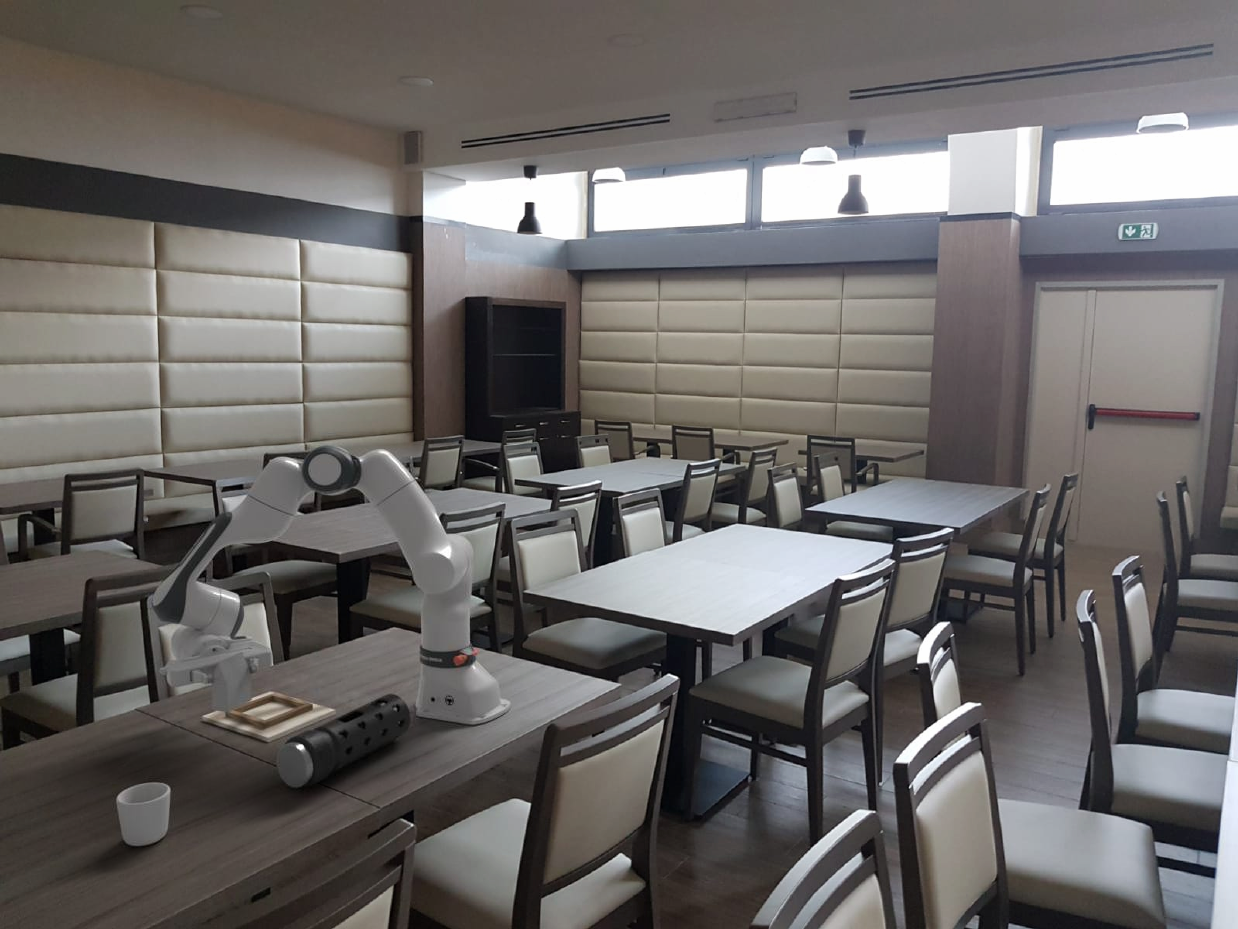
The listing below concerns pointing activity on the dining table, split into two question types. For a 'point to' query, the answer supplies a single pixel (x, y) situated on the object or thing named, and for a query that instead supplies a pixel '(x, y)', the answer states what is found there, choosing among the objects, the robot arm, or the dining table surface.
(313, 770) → the muzzle brake
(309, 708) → the holder
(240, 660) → the tea bag
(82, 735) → the dining table surface
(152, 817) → the cup
